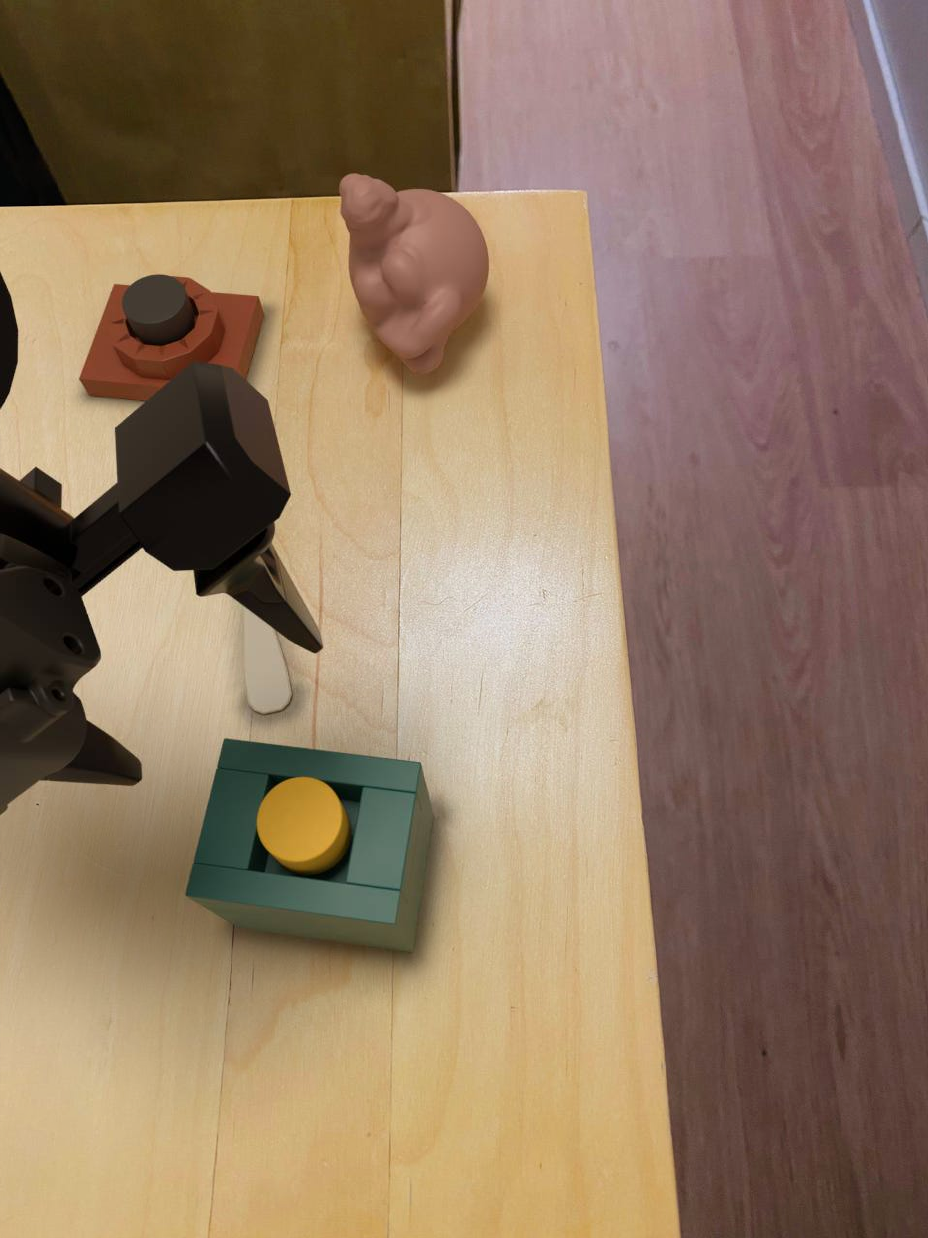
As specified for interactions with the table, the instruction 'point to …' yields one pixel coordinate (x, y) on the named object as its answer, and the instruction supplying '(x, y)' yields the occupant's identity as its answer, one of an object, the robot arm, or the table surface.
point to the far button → (158, 309)
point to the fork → (263, 666)
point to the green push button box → (339, 897)
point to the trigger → (304, 825)
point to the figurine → (412, 265)
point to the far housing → (145, 369)
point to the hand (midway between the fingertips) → (226, 710)
